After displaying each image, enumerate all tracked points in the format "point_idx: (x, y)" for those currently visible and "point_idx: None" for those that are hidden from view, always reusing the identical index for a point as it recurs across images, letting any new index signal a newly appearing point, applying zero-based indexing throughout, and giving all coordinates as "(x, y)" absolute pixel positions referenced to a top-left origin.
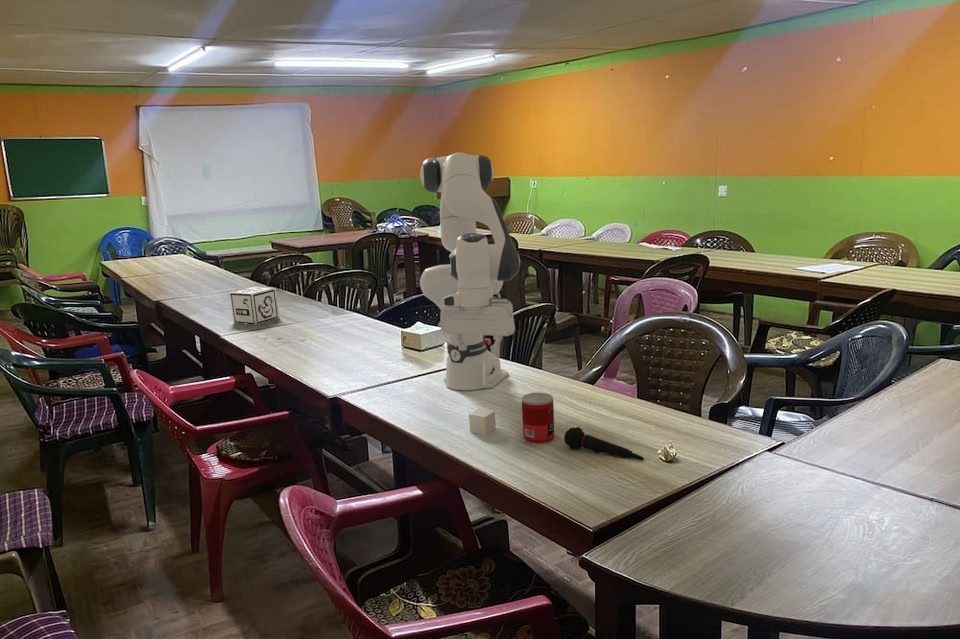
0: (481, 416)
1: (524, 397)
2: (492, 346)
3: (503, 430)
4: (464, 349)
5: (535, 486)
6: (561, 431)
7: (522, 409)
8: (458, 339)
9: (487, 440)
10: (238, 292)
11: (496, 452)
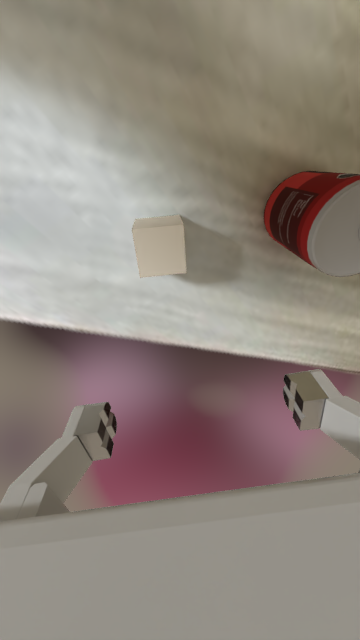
0: (177, 273)
1: (318, 249)
2: (313, 426)
3: (202, 215)
4: (113, 421)
5: (341, 352)
6: (336, 139)
7: (302, 258)
8: (65, 491)
9: (202, 276)
10: None
11: (245, 306)
